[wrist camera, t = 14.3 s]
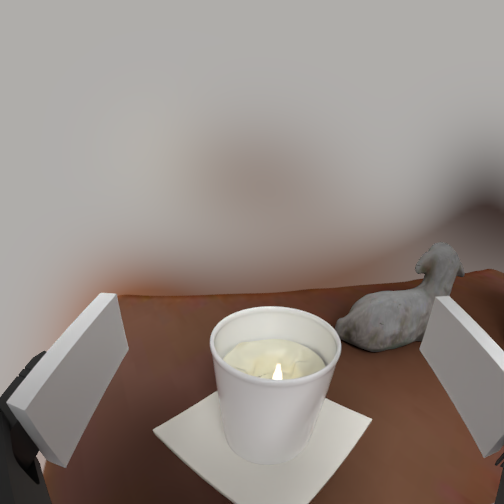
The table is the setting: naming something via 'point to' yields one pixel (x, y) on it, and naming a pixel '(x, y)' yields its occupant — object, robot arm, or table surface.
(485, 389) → the robot arm
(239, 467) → the tile
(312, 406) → the candle holder
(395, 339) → the sculpture
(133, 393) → the table surface
